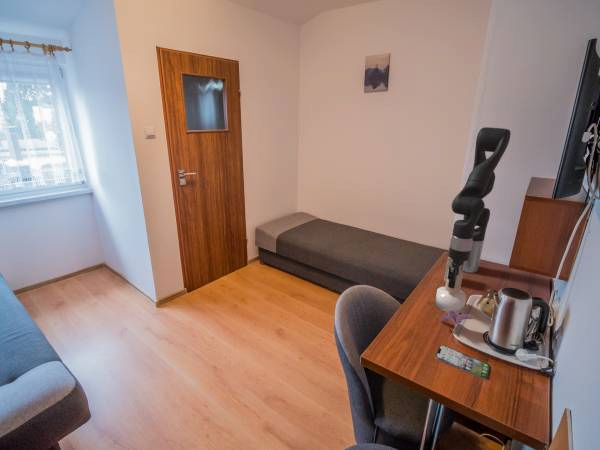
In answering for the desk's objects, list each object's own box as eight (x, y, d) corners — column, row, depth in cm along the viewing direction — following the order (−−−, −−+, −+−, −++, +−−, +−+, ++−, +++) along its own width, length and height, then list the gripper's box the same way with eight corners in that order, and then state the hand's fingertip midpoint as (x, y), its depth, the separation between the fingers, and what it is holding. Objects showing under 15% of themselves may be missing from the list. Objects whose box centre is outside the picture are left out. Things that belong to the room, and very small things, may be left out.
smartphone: (488, 380, 90) (435, 357, 98) (487, 382, 90) (434, 359, 99) (490, 364, 96) (440, 344, 104) (489, 367, 96) (439, 346, 104)
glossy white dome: (440, 295, 134) (442, 283, 132) (467, 304, 127) (469, 292, 125) (431, 306, 126) (433, 294, 124) (459, 317, 119) (462, 304, 117)
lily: (478, 334, 111) (474, 307, 113) (473, 340, 102) (470, 310, 103) (443, 332, 118) (440, 306, 120) (435, 336, 109) (433, 309, 110)
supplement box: (454, 285, 142) (459, 260, 138) (443, 282, 145) (447, 257, 140) (458, 278, 148) (462, 253, 144) (447, 275, 151) (451, 251, 147)
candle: (462, 293, 121) (466, 271, 118) (447, 293, 122) (451, 271, 118) (456, 286, 126) (460, 265, 123) (443, 286, 127) (446, 264, 123)
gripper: (465, 255, 110) (458, 295, 116) (475, 243, 120) (468, 280, 126) (444, 249, 115) (437, 288, 120) (455, 239, 125) (449, 275, 131)
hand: (453, 284), depth 123 cm, fingers closed on candle, 5 cm apart
